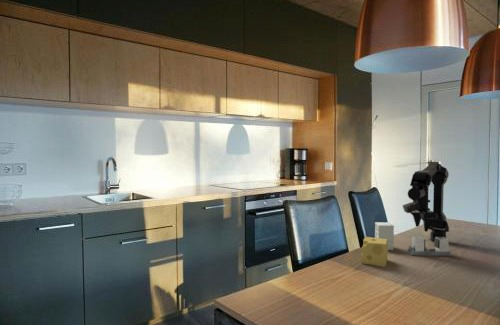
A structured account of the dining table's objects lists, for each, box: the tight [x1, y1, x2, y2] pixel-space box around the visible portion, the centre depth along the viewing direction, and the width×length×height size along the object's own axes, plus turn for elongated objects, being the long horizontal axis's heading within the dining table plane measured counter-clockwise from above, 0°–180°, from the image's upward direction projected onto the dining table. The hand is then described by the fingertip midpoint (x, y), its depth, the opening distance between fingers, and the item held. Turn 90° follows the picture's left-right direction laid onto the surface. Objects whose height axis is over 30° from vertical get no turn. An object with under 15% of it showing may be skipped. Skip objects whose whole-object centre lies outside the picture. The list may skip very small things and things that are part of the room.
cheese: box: [360, 236, 389, 268], centre depth 147 cm, size 10×11×10 cm
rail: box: [407, 237, 451, 257], centre depth 158 cm, size 18×4×8 cm, turn 87°
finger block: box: [411, 235, 426, 251], centre depth 158 cm, size 5×4×6 cm
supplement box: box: [374, 221, 395, 251], centre depth 168 cm, size 7×7×13 cm
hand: (421, 228), depth 161 cm, fingers open, 9 cm apart
